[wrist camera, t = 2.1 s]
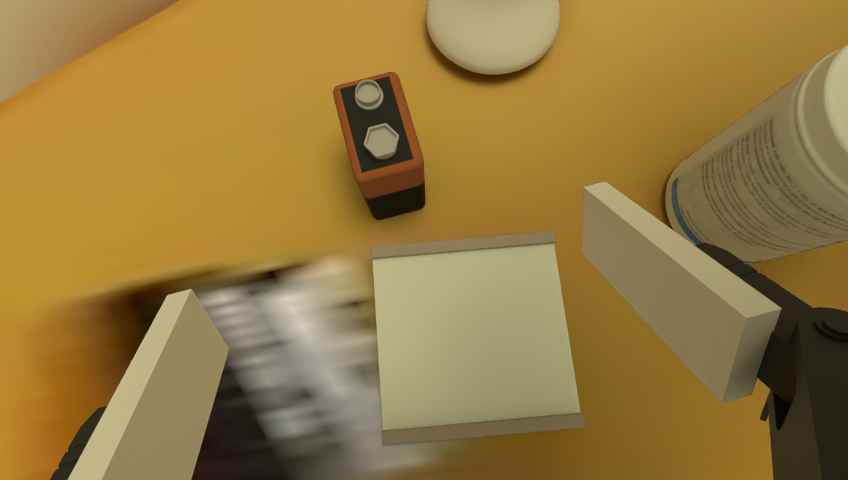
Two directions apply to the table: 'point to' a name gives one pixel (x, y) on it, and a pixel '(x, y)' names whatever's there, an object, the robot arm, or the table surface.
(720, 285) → the robot arm
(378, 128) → the battery
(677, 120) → the table surface
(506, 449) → the table surface
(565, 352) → the stand
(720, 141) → the supplement tub
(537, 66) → the table surface
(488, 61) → the flower in vase
